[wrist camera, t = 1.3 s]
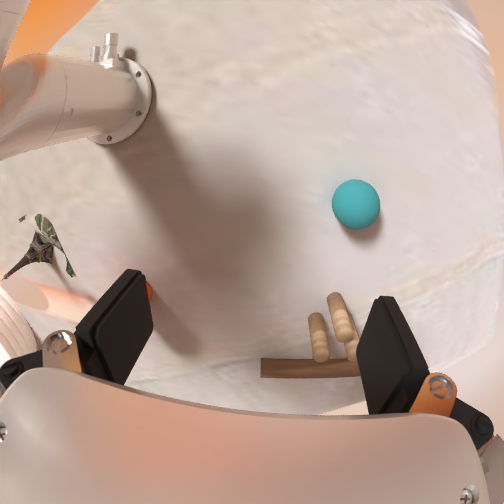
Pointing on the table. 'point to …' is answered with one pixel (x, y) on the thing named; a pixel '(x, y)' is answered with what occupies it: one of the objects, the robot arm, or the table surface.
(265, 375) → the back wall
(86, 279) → the table surface
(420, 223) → the table surface
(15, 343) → the plate stack
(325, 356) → the pin
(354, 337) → the pin
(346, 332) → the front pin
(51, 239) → the eiffel tower figurine
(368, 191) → the ball
